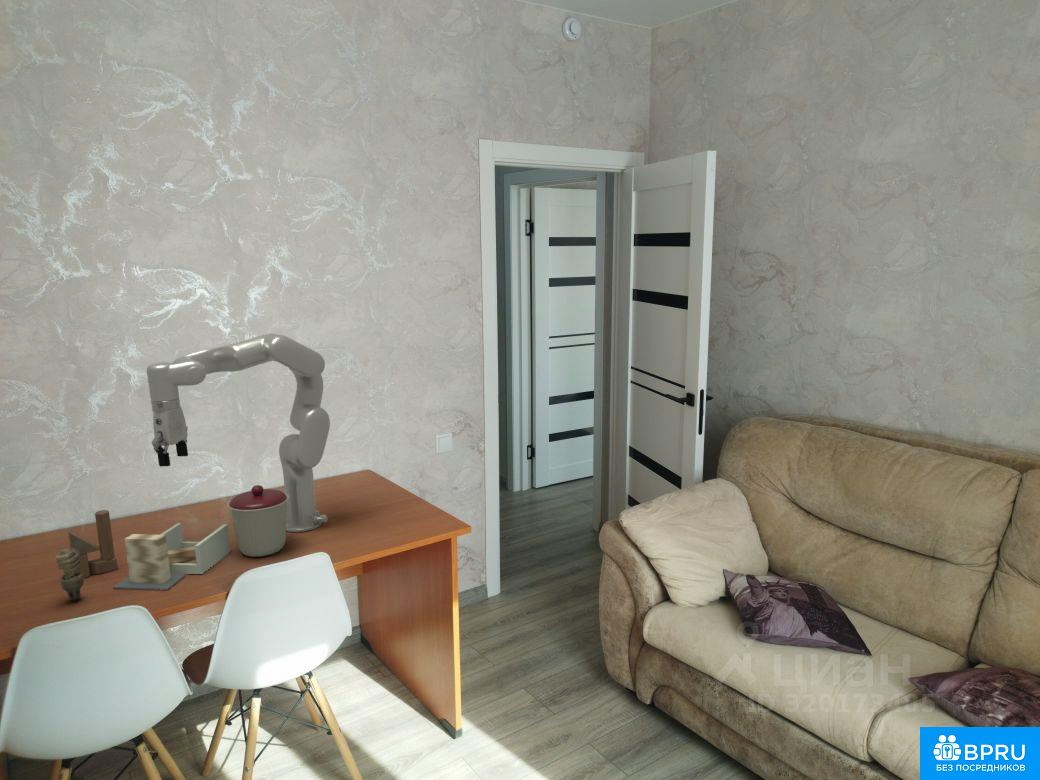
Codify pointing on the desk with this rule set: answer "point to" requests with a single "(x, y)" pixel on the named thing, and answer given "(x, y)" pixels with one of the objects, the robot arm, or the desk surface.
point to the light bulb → (70, 572)
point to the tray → (198, 549)
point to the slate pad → (149, 584)
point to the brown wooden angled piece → (96, 547)
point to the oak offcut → (181, 555)
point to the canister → (259, 520)
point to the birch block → (147, 558)
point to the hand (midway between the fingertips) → (174, 460)
